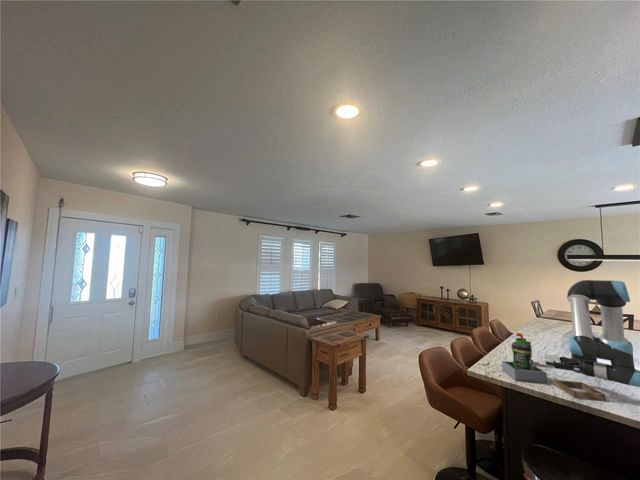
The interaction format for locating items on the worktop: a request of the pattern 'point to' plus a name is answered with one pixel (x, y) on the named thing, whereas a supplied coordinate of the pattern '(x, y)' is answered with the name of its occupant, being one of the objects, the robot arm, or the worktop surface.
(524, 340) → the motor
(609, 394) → the worktop surface
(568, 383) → the walnut collar
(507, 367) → the charcoal bin
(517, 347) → the coffee jar
